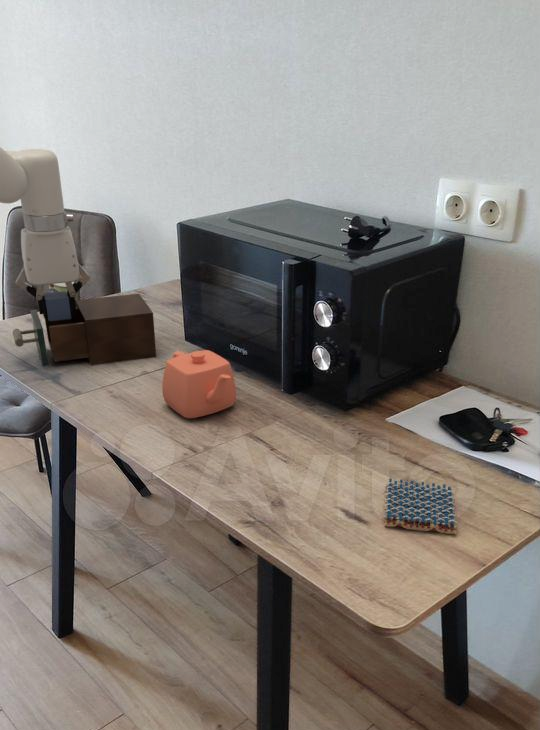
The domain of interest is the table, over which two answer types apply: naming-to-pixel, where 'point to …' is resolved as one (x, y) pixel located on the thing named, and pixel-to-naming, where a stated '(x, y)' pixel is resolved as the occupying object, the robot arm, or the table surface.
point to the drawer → (57, 338)
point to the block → (57, 306)
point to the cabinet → (118, 328)
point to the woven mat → (420, 507)
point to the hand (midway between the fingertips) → (58, 315)
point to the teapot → (198, 383)
